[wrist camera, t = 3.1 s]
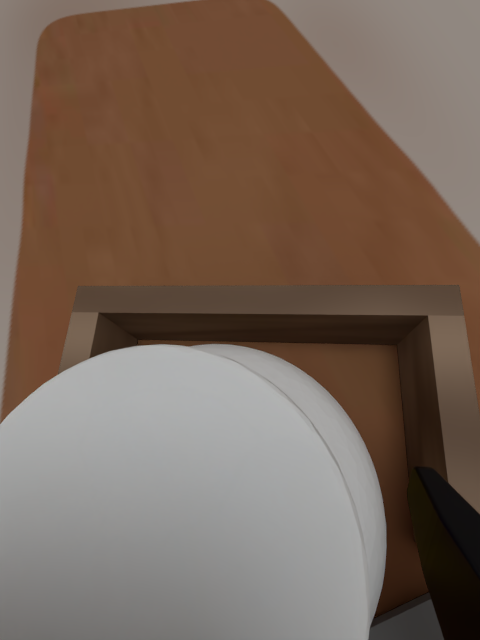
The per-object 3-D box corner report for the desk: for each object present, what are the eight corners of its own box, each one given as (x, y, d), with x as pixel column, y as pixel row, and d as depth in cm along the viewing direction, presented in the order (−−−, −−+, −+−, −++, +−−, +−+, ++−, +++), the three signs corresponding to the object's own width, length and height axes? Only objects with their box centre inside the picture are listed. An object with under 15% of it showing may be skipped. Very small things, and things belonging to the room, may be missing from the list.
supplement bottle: (357, 535, 14) (712, 1018, 2) (202, 583, 14) (-241, 1277, 2) (300, 378, 17) (324, 204, 5) (167, 421, 17) (-141, 361, 5)
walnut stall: (447, 544, 14) (505, 581, 10) (85, 508, 16) (22, 528, 12) (421, 320, 17) (459, 285, 13) (119, 317, 19) (77, 286, 15)
